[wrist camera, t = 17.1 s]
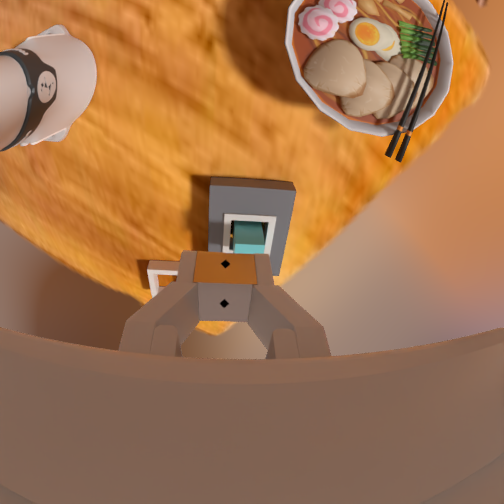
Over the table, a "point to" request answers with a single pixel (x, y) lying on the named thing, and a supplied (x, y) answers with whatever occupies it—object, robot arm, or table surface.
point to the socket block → (251, 213)
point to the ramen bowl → (371, 62)
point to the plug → (248, 237)
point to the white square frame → (160, 268)
